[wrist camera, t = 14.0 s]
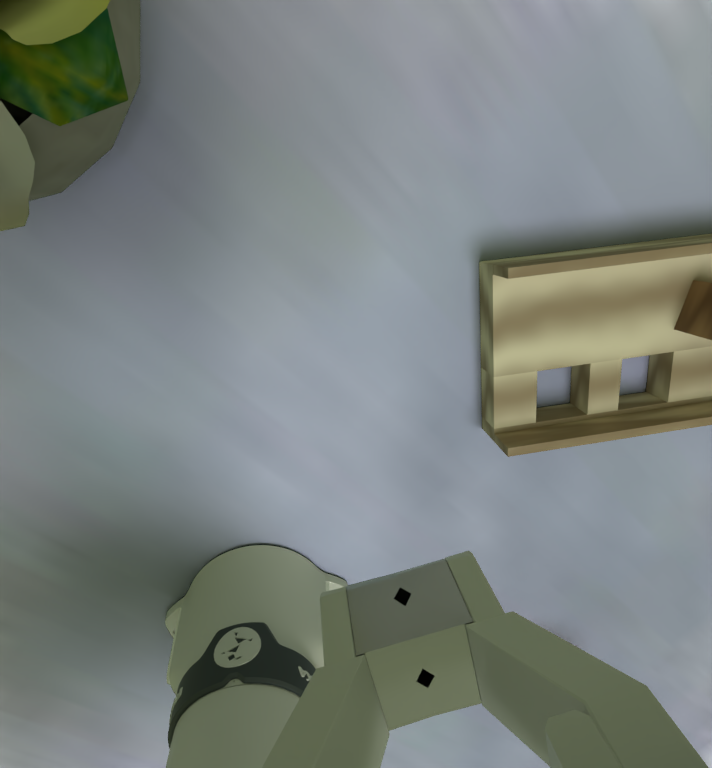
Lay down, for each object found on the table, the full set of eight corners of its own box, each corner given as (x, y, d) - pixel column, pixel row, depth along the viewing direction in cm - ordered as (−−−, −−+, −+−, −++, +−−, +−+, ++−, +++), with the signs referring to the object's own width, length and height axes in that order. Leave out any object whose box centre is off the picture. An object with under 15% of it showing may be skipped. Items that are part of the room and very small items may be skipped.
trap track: (699, 395, 49) (762, 422, 43) (482, 428, 47) (512, 462, 41) (723, 232, 44) (799, 234, 37) (479, 261, 42) (513, 269, 35)
